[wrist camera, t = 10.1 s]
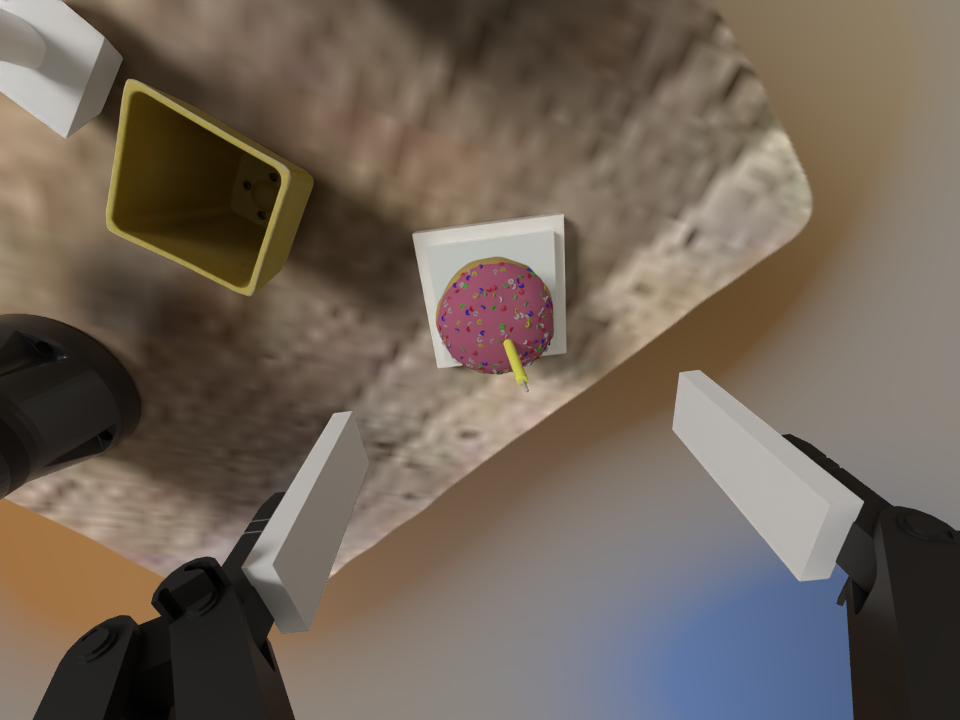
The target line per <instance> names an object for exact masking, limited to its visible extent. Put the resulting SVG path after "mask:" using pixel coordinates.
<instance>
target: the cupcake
mask: <svg viewBox="0 0 960 720" xmlns="http://www.w3.org/2000/svg"><path fill="white" fill-rule="evenodd" d="M436 327H437V330H438V332H439V336H440V338H441V339H442V344H443V343H444V344H443V345H445V346H446V348H447V350H448V351H449V353H450V354H451V358H452V359H455V360H457V361H458V362H460V363H461V364H462V365H465V366H467V367H469V368H471V369H473V370H476V371H478V372H479V373H480V372H481V373H482V374H484V373H488V374H497V375H499V374H503V373H507V372H513V373H514V375H515V378H516V381H517V383H518V384H519V385H523V387H524V390H525V391H526V392H529V389H528V387H527V385H526V383H527V382H528V378H527V376H526V373H525V371H524V368H523V367H524V366H526V365H531V364H532V363H533V362H536V361H537V360H536V359H539V358H540V357H539V356H541V355H542V354H543V352H544V351H545V352H547V351H548V347H547V346H548V345H550V341H551V339H552V338H553V337H554V314H553V302H552V297H551V294H550V291H549V289H548V288H547V286H546V285H545V283H544V282H543V281H542V280H541V278H540V277H539V276H538V275H536V274H535V272H534V271H533V270H532V269H531V268H530V267H529V266H527V265H525V264H522V263H519V262H516V261H513V260H510V259H507V258H504V257H490V258H486V259H480V260H475V261H472V262H470V263H468V264H466V265H465V266H464V267H462V268H461V269H460V270H459V271H457V273H456V274H455V275H454V276H453V277H452V279H451V280H450V282H449V283H448V285H447V287H446V289H445V291H444V293H443V295H442V297H441V299H440V300H439V302H438V305H437V310H436ZM545 349H546V350H545Z"/></svg>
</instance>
